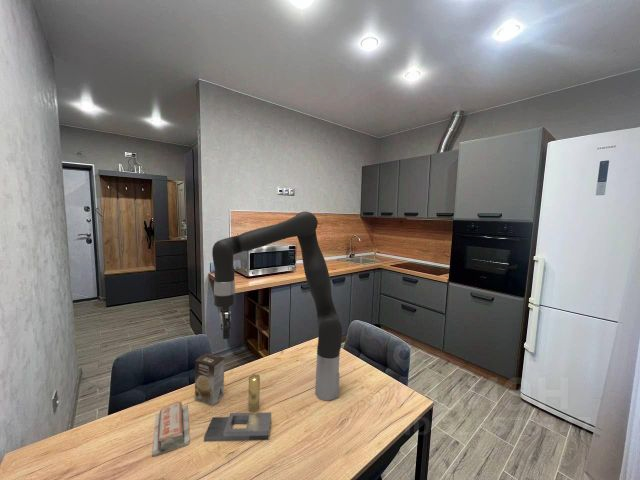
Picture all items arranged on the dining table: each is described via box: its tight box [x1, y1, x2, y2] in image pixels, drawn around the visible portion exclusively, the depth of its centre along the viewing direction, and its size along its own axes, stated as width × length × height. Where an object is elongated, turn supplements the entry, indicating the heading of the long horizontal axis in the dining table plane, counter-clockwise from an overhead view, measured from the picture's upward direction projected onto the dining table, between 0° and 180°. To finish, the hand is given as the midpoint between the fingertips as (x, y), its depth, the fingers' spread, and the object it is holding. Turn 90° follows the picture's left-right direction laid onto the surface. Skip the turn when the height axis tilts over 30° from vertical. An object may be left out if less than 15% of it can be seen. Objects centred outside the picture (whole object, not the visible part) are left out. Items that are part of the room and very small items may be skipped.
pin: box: [247, 373, 261, 413], centre depth 97 cm, size 4×4×12 cm
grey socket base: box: [203, 412, 272, 442], centre depth 87 cm, size 20×8×3 cm, turn 94°
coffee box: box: [194, 352, 225, 407], centre depth 101 cm, size 9×6×16 cm
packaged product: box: [151, 401, 191, 458], centre depth 86 cm, size 18×5×10 cm
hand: (225, 333), depth 100 cm, fingers open, 8 cm apart
